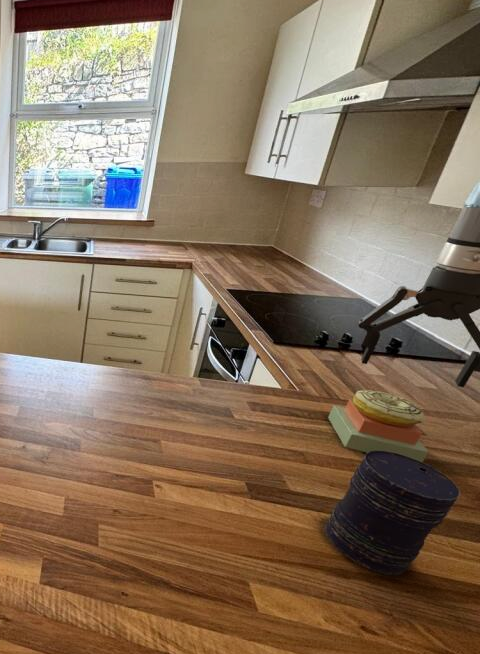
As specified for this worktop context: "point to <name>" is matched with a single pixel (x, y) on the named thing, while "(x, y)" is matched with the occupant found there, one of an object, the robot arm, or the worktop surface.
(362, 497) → the dark blue cylinder
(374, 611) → the worktop surface
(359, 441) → the stack base
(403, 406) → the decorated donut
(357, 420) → the stack top
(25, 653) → the worktop surface
